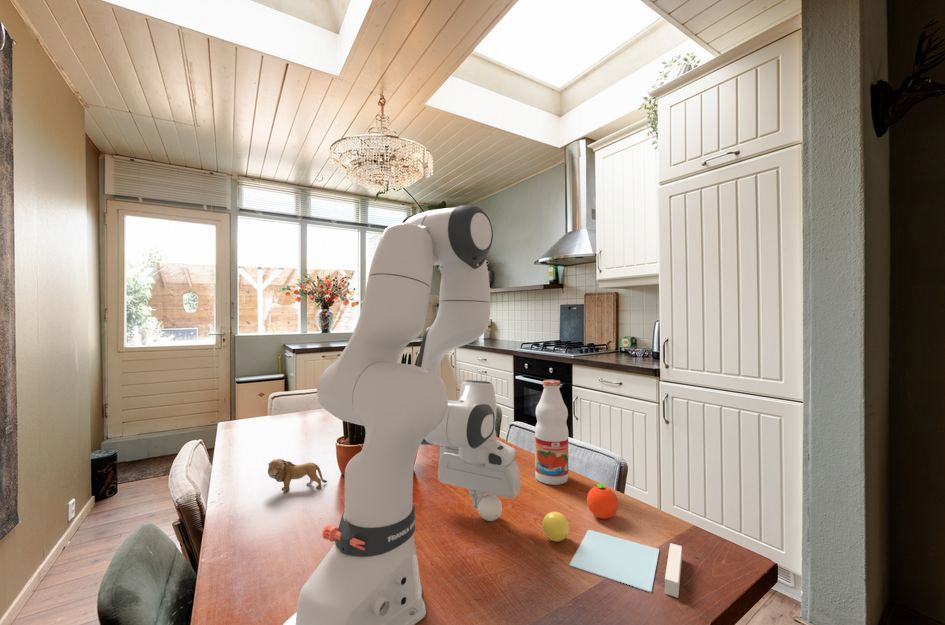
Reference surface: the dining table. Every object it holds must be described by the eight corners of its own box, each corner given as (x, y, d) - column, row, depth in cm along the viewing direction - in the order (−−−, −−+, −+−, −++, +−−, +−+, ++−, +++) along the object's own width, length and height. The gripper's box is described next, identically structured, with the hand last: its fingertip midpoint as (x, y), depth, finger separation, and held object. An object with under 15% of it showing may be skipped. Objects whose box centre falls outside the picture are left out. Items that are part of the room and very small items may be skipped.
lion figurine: (267, 499, 99) (268, 464, 99) (267, 491, 104) (267, 457, 104) (328, 487, 107) (328, 454, 107) (325, 480, 111) (325, 448, 111)
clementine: (581, 507, 95) (581, 478, 95) (608, 506, 96) (608, 477, 96) (593, 525, 87) (593, 493, 87) (623, 524, 88) (623, 492, 88)
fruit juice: (565, 472, 117) (565, 378, 117) (571, 486, 107) (571, 384, 108) (533, 471, 117) (533, 378, 118) (536, 485, 108) (536, 383, 108)
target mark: (651, 592, 66) (651, 591, 66) (569, 565, 73) (569, 564, 73) (659, 550, 78) (659, 549, 78) (588, 530, 85) (588, 529, 85)
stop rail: (678, 598, 65) (678, 582, 65) (664, 593, 66) (664, 578, 66) (681, 559, 75) (681, 546, 75) (670, 555, 76) (670, 543, 76)
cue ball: (493, 529, 86) (495, 504, 86) (472, 520, 89) (474, 496, 89) (505, 518, 91) (507, 495, 91) (484, 510, 94) (486, 487, 94)
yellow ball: (564, 550, 78) (564, 522, 78) (538, 542, 81) (538, 515, 81) (572, 536, 83) (572, 510, 83) (547, 529, 86) (547, 504, 86)
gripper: (432, 445, 94) (432, 503, 94) (512, 460, 84) (512, 524, 84) (446, 438, 99) (446, 492, 99) (522, 451, 90) (522, 511, 90)
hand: (477, 507), depth 92 cm, fingers closed, pressing on cue ball
